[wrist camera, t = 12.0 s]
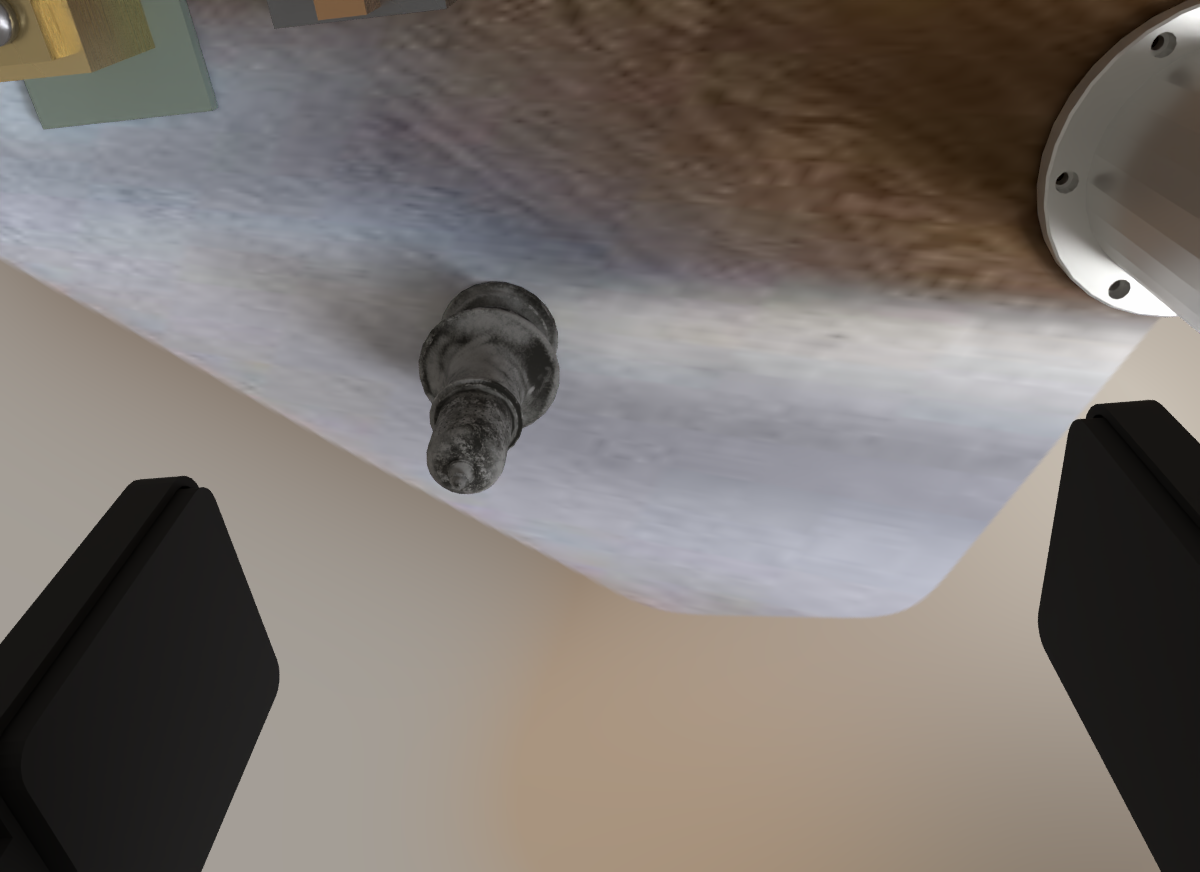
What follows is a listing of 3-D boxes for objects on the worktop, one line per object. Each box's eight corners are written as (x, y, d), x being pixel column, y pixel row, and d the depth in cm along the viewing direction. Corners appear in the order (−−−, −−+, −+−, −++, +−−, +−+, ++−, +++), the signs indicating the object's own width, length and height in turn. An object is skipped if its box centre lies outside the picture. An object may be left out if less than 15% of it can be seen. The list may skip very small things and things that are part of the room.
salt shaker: (408, 343, 43) (338, 494, 33) (485, 248, 41) (435, 379, 30) (511, 417, 45) (476, 582, 35) (591, 330, 42) (578, 480, 32)
